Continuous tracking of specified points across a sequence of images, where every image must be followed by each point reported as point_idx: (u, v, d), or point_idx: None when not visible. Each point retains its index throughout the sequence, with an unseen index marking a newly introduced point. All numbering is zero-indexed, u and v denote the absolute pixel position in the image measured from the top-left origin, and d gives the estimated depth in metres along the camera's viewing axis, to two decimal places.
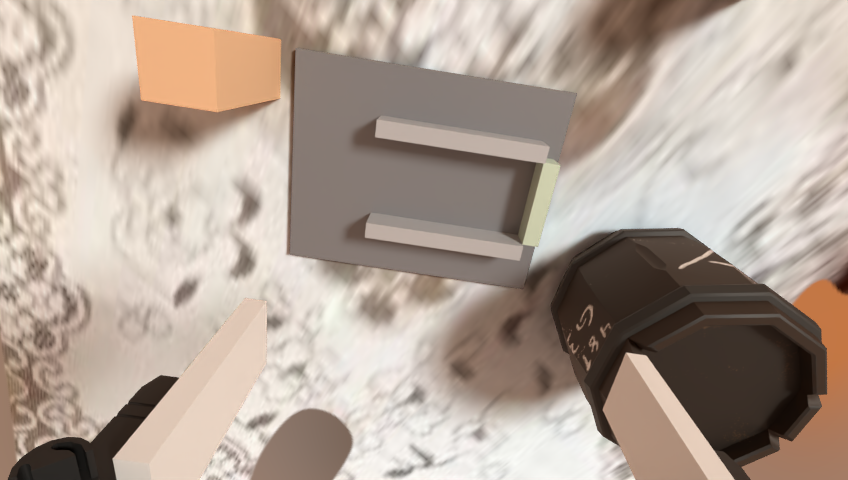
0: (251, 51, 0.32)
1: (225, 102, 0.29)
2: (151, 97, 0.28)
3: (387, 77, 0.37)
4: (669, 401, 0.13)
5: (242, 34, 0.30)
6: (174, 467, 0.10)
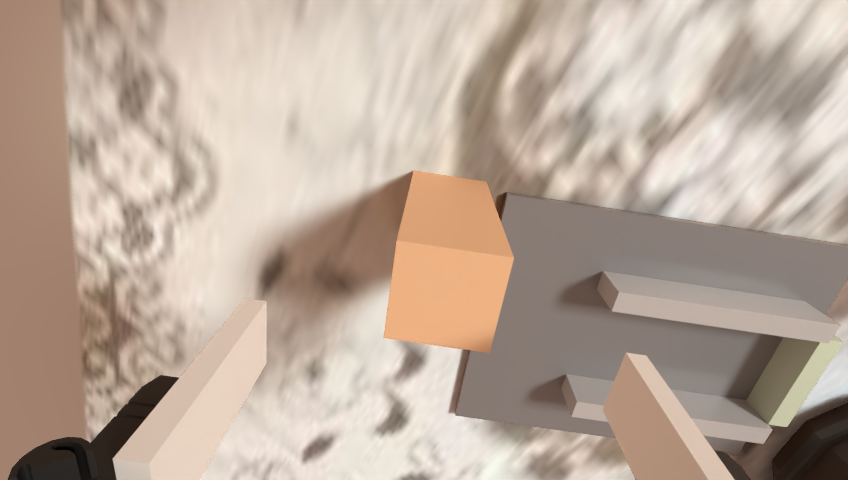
0: None
1: None
2: (399, 334, 0.20)
3: (620, 229, 0.29)
4: (669, 401, 0.13)
5: (500, 224, 0.22)
6: (174, 467, 0.10)
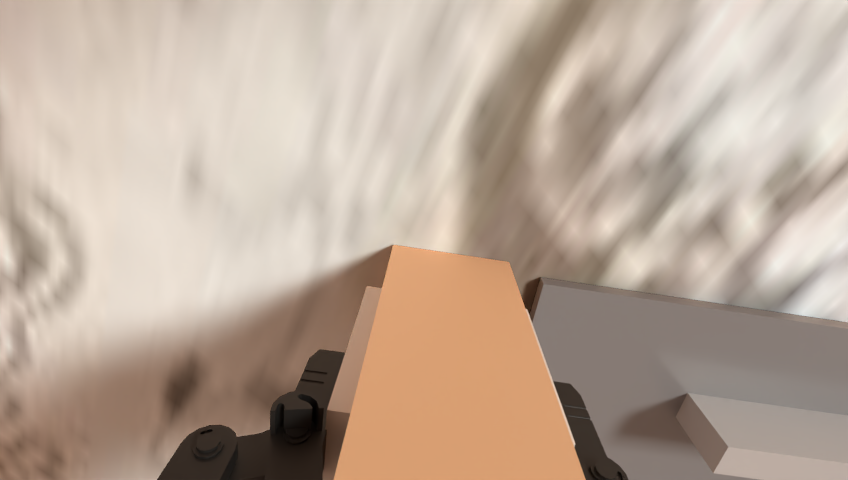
0: None
1: None
2: None
3: (721, 334, 0.18)
4: None
5: (555, 398, 0.11)
6: None
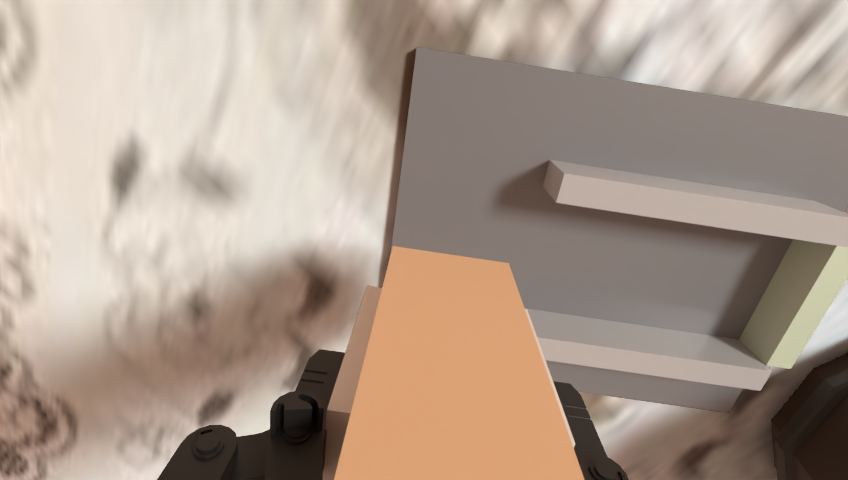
0: None
1: None
2: None
3: (570, 97, 0.22)
4: None
5: (554, 400, 0.11)
6: None
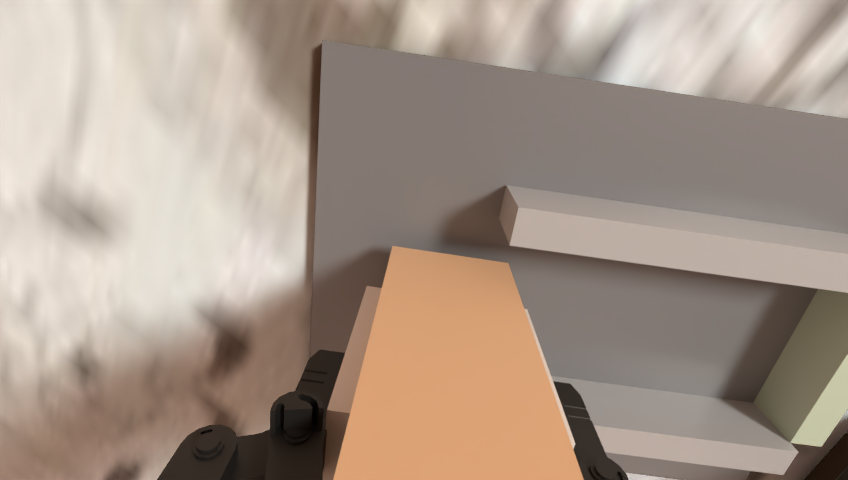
0: None
1: None
2: None
3: (528, 104, 0.17)
4: None
5: (554, 400, 0.11)
6: None
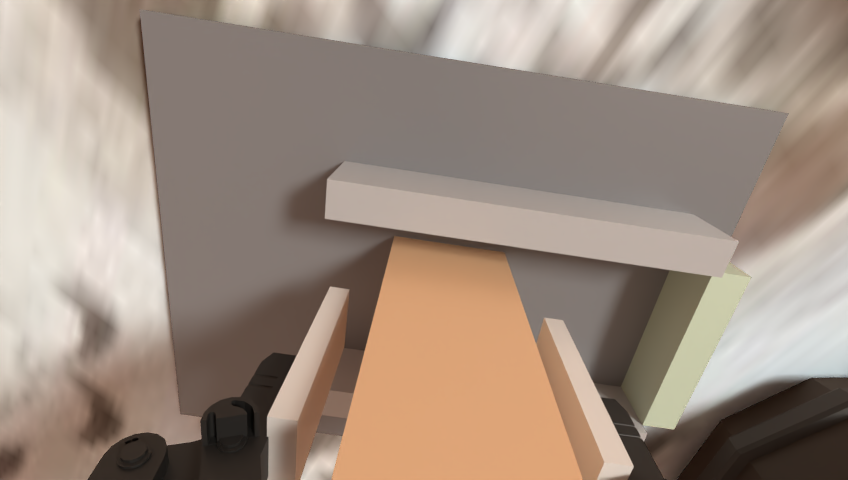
0: None
1: None
2: None
3: (355, 77, 0.16)
4: (571, 356, 0.14)
5: (543, 371, 0.12)
6: (305, 428, 0.11)
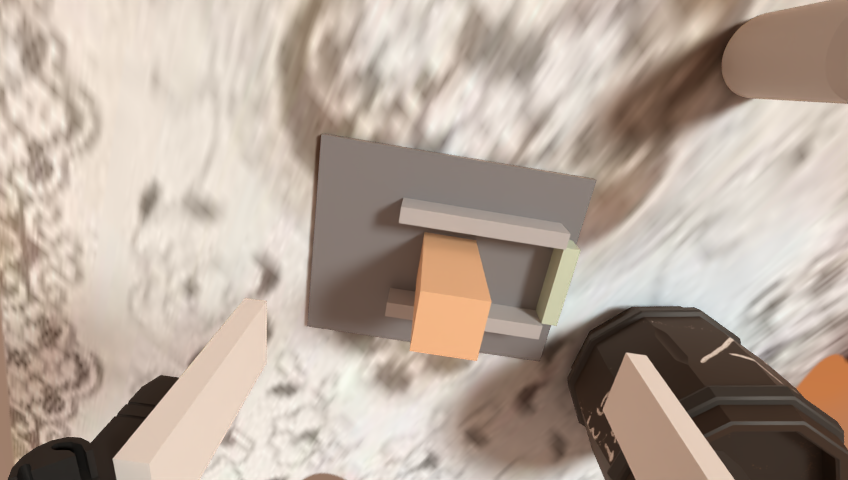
0: None
1: None
2: (420, 348, 0.31)
3: (410, 162, 0.38)
4: (669, 401, 0.13)
5: (484, 277, 0.33)
6: (174, 467, 0.10)
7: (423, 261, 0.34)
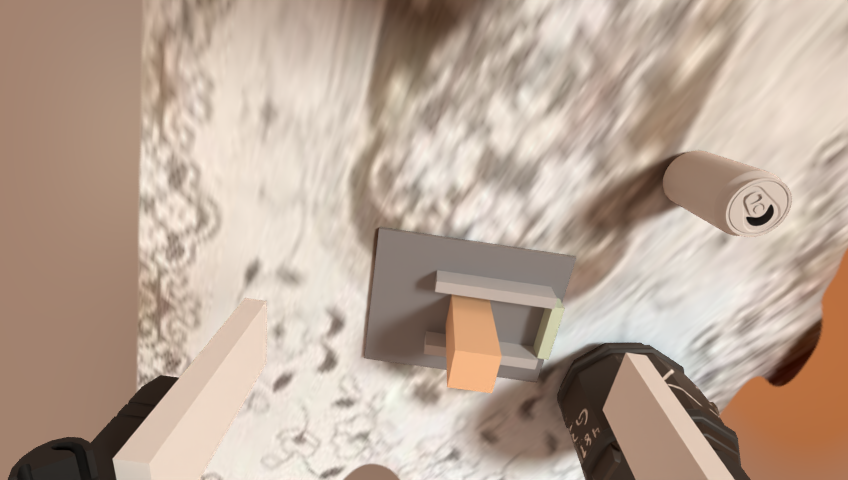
0: None
1: None
2: (454, 385, 0.46)
3: (442, 247, 0.53)
4: (669, 401, 0.13)
5: (496, 334, 0.49)
6: (174, 467, 0.10)
7: (454, 323, 0.49)
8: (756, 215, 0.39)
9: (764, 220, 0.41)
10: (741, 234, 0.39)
